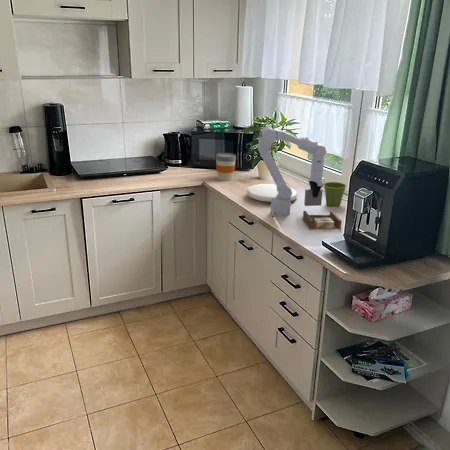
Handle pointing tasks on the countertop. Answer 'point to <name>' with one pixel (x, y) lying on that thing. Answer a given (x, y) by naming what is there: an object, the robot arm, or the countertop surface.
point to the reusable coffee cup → (225, 165)
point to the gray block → (312, 198)
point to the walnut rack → (310, 218)
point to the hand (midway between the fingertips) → (314, 196)
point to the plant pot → (334, 193)
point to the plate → (266, 192)
